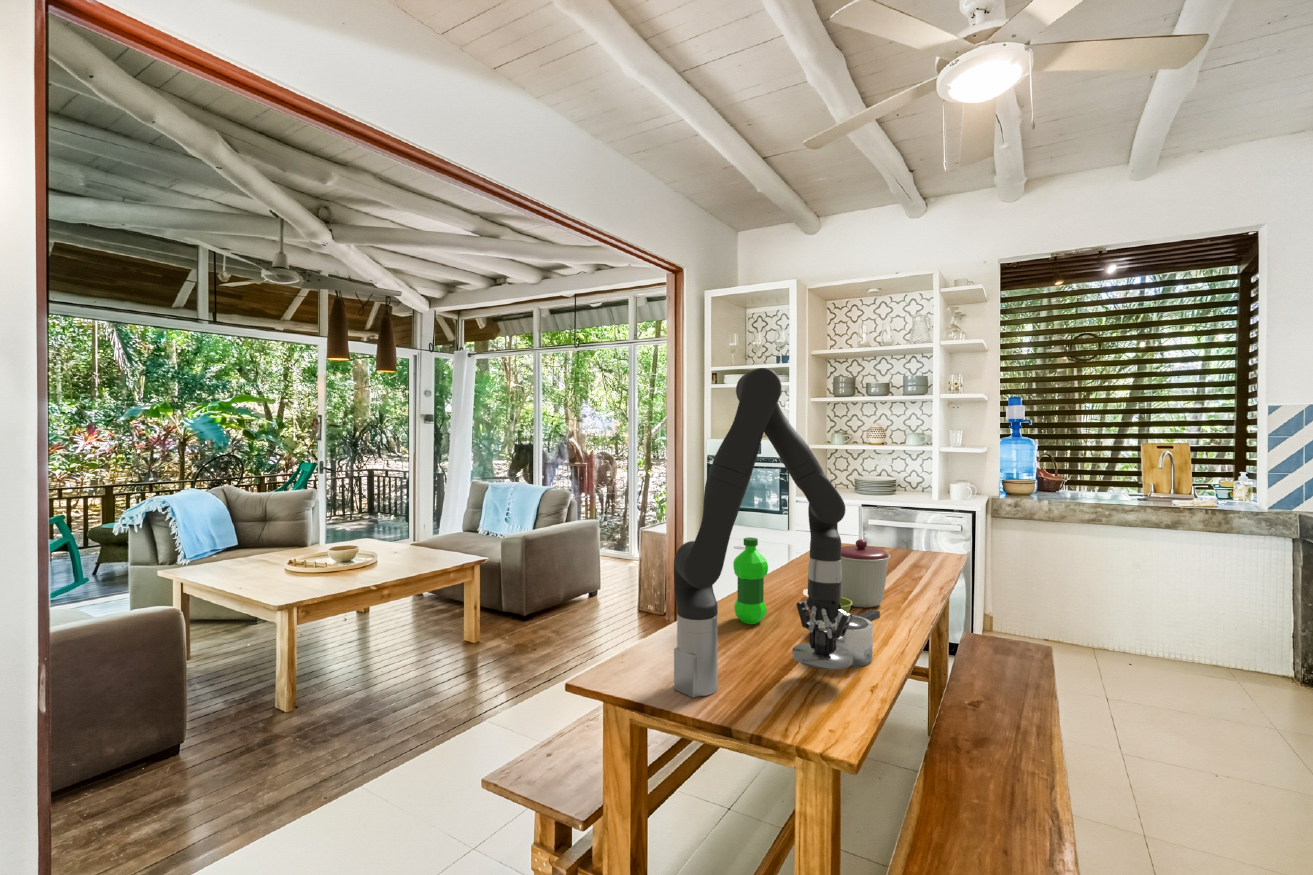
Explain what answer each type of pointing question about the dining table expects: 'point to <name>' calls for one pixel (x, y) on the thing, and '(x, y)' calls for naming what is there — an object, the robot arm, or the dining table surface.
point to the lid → (822, 654)
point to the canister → (863, 574)
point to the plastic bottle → (750, 583)
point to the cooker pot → (858, 637)
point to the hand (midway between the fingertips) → (822, 649)
